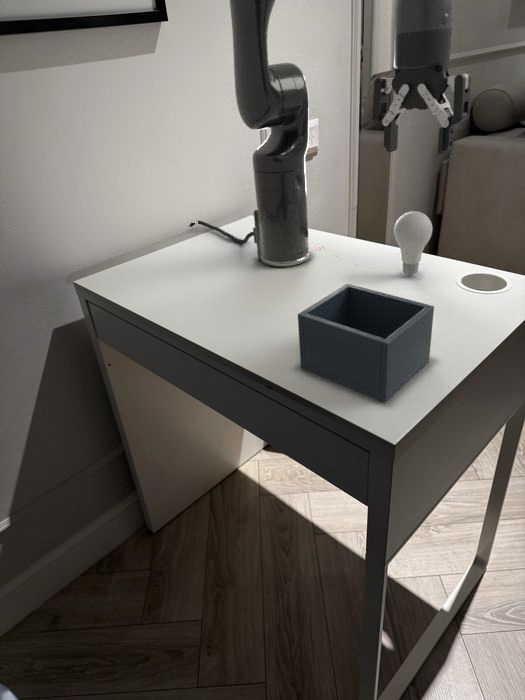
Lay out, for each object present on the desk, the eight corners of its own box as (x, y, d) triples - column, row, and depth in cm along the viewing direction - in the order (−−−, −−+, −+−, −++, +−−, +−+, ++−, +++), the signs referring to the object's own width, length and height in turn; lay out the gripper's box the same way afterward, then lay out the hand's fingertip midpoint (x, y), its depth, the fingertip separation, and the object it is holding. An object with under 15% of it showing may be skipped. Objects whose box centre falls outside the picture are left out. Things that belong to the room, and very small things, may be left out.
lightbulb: (429, 282, 86) (435, 217, 80) (391, 282, 87) (394, 218, 82) (427, 268, 91) (432, 205, 85) (391, 268, 93) (394, 206, 87)
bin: (300, 368, 68) (297, 314, 64) (347, 334, 74) (347, 283, 70) (385, 402, 60) (387, 343, 56) (429, 361, 66) (434, 306, 62)
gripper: (486, 20, 68) (473, 149, 77) (391, 30, 77) (388, 145, 85) (461, 24, 64) (449, 160, 72) (363, 34, 73) (362, 155, 81)
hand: (416, 152), depth 79 cm, fingers open, 8 cm apart
